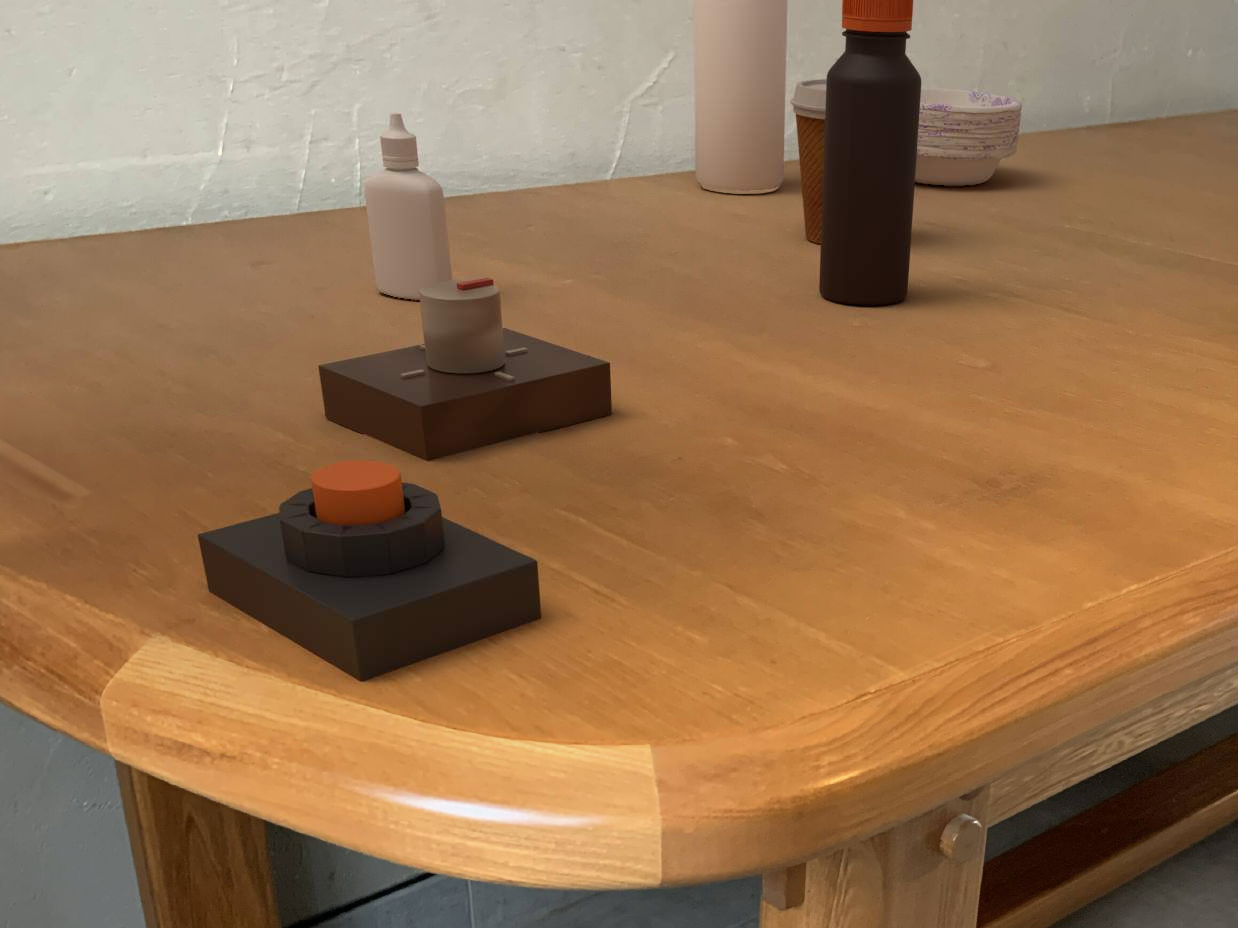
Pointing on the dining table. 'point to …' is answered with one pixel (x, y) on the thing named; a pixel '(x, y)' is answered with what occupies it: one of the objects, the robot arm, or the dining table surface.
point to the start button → (357, 493)
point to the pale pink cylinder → (740, 93)
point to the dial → (462, 326)
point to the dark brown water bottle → (870, 157)
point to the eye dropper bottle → (406, 219)
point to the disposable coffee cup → (811, 150)
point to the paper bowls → (964, 135)
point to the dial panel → (465, 396)
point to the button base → (371, 582)
